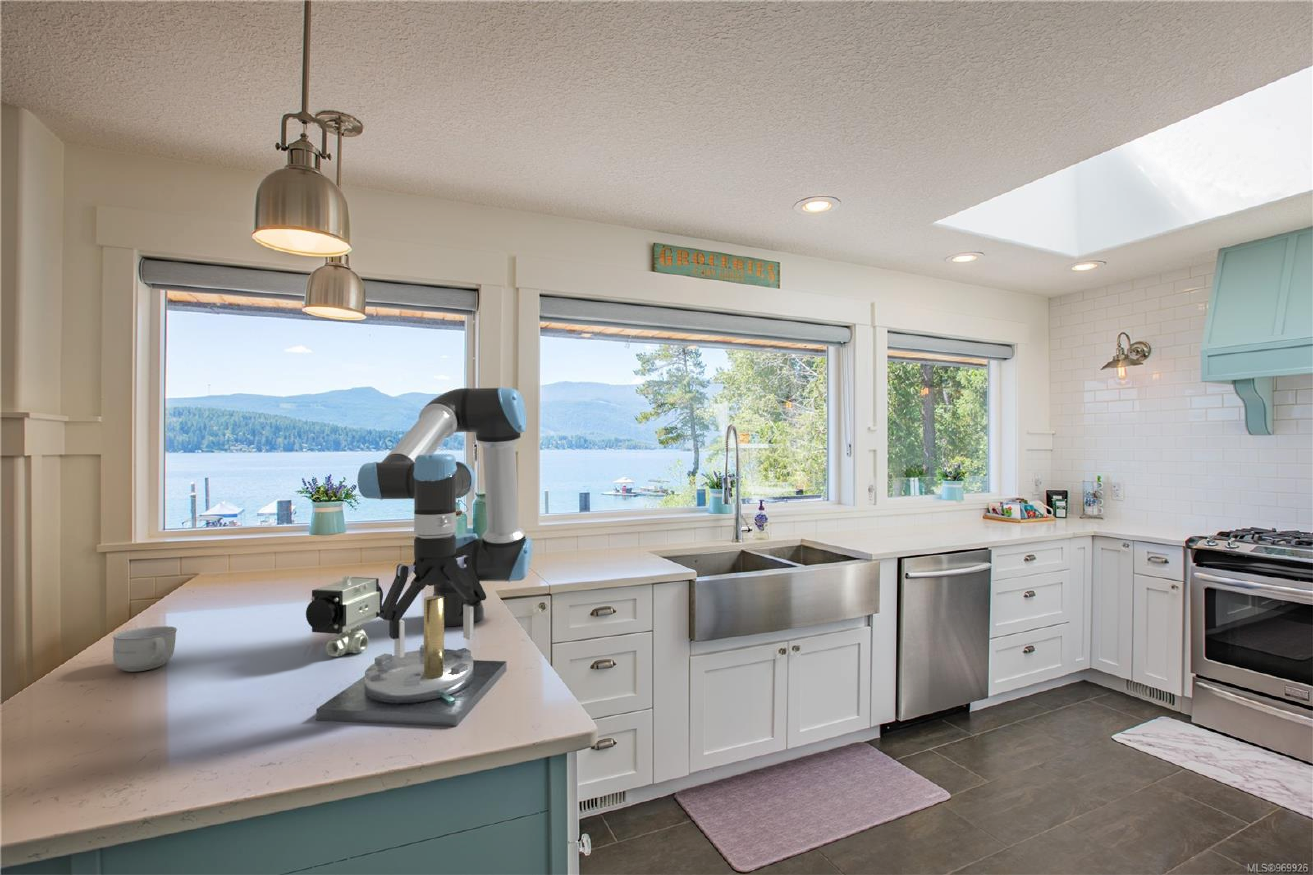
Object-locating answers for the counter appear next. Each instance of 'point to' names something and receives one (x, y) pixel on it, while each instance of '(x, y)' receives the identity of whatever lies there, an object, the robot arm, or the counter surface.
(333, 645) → the ball valve
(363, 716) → the base plate
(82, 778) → the counter surface
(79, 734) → the counter surface
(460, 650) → the silver tabbed disc
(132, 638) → the teacup
